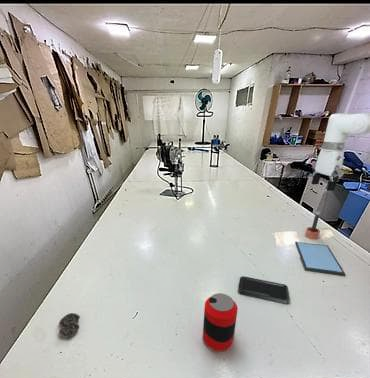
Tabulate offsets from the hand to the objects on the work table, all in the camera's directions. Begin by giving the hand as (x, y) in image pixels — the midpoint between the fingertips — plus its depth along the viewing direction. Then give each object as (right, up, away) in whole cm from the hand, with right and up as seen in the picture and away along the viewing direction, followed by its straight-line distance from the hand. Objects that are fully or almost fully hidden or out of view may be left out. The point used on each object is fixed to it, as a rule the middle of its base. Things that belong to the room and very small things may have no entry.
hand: (322, 187), depth 103 cm
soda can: (-52, -45, -44) cm, 81 cm away
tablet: (-8, -30, -11) cm, 32 cm away
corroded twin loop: (-90, -43, -42) cm, 108 cm away
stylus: (-2, -22, +5) cm, 23 cm away
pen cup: (-2, -23, +5) cm, 23 cm away
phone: (-35, -37, -28) cm, 59 cm away
